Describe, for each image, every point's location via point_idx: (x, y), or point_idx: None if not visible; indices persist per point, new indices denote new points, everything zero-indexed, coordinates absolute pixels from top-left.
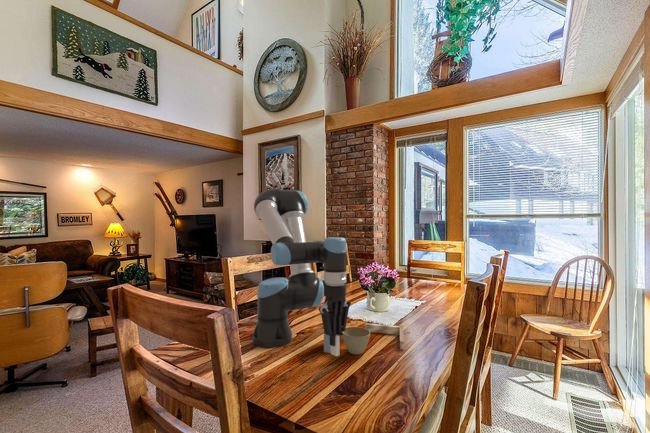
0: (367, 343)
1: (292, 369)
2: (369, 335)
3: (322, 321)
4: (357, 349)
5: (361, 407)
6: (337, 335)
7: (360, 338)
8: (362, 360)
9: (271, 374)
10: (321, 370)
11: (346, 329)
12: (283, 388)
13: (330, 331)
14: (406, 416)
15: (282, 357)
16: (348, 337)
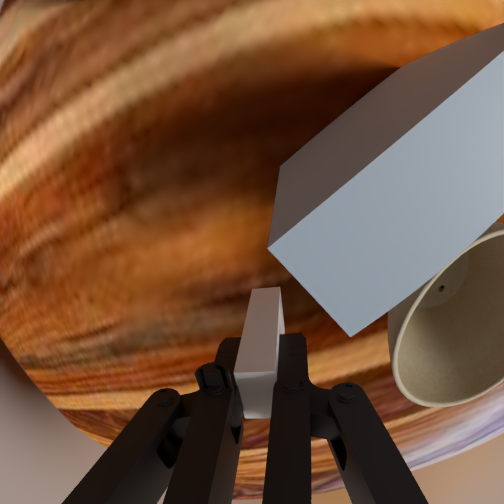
0: (467, 348)
1: (65, 240)
2: (487, 384)
3: (85, 476)
4: (407, 333)
5: None
6: (266, 411)
7: (424, 399)
8: (381, 350)
9: (8, 229)
10: (165, 317)
11: (499, 230)
12: (33, 319)
13: (172, 455)
14: (249, 497)
15: (60, 111)
16: (390, 359)
